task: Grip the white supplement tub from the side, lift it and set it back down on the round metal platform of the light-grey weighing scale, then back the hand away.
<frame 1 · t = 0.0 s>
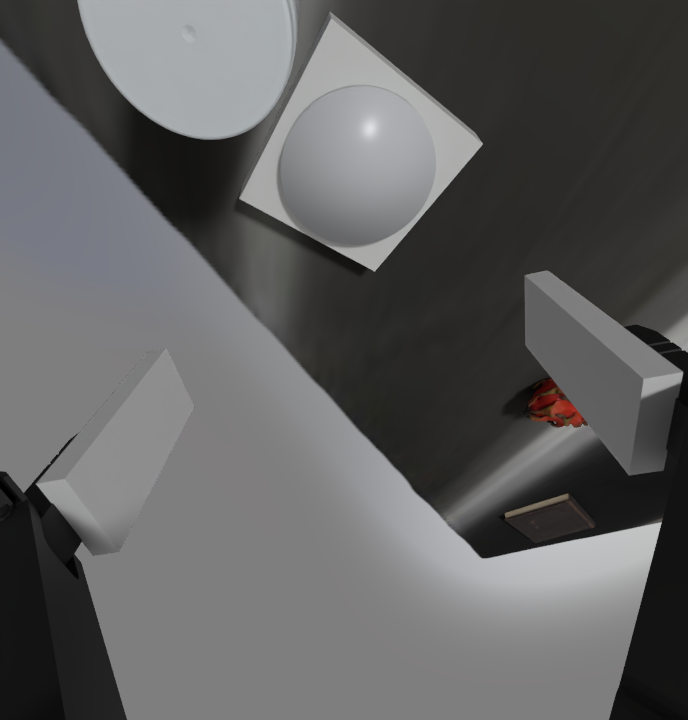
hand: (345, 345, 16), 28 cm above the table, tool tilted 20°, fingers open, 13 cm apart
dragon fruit: (555, 381, 65), on the table
scale: (355, 159, 38), on the table
hardcover book: (548, 513, 108), on the table
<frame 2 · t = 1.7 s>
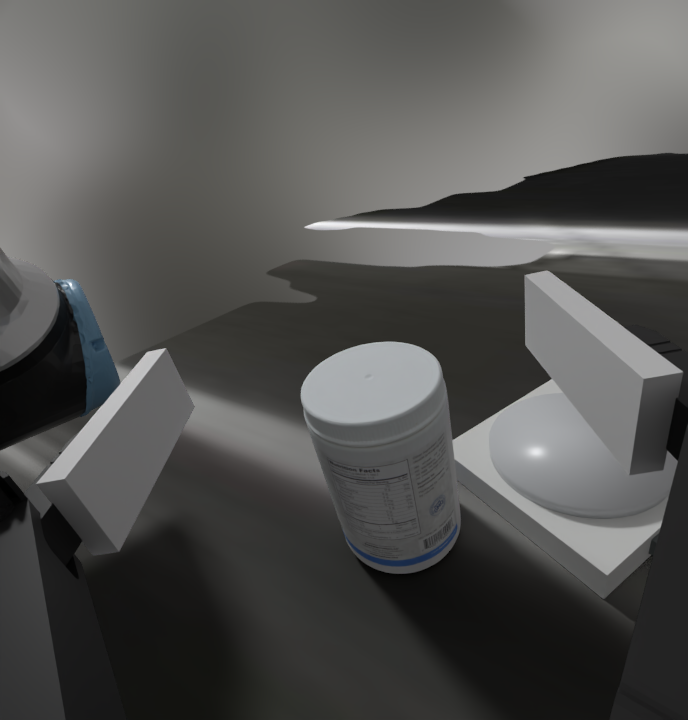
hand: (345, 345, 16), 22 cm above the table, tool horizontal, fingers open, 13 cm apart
supplement tub: (402, 526, 35), on the table
scale: (573, 473, 35), on the table
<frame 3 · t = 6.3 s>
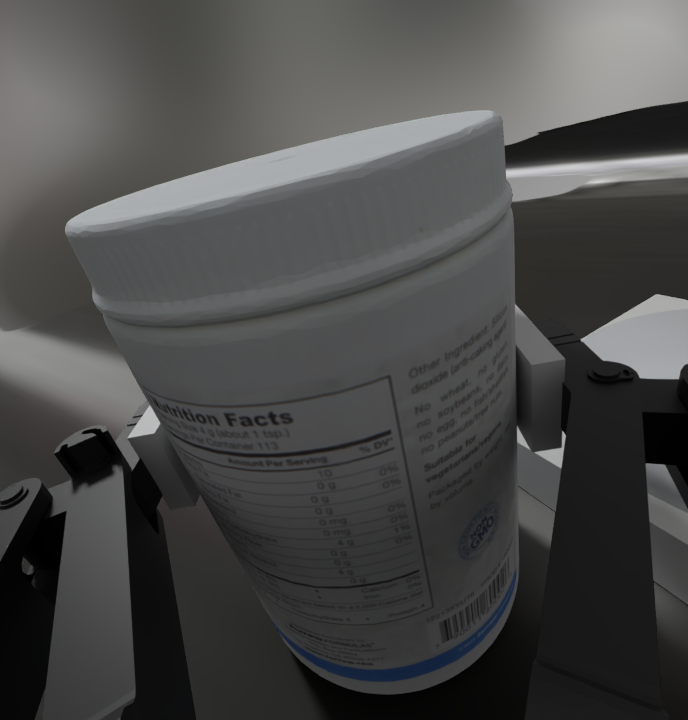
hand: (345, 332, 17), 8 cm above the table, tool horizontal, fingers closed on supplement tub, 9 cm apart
supplement tub: (390, 566, 17), on the table, touching gripper
when the fingers open (13 cm above the table, at t = 10.3 s): supplement tub drops 1 cm, resting on scale.
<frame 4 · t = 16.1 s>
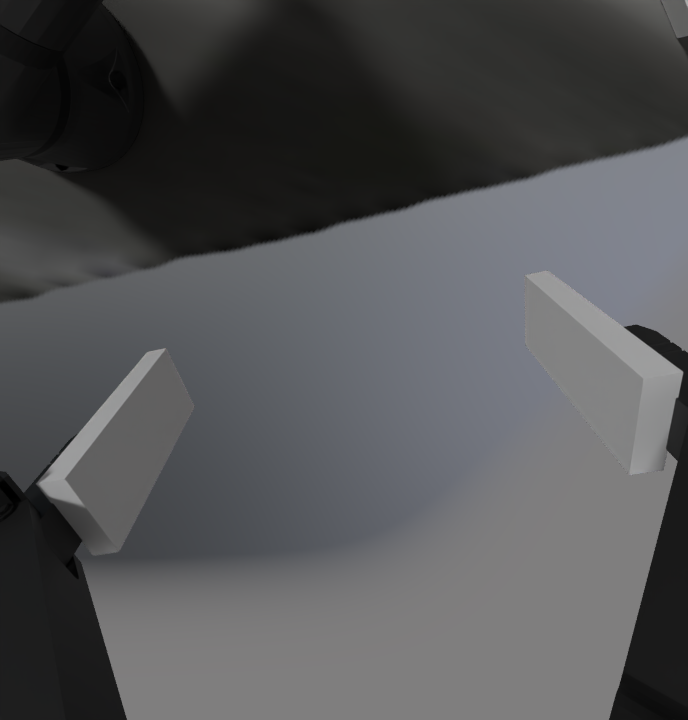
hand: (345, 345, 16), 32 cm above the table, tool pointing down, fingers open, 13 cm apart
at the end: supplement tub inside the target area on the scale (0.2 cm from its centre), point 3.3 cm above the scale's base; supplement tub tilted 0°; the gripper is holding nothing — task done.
